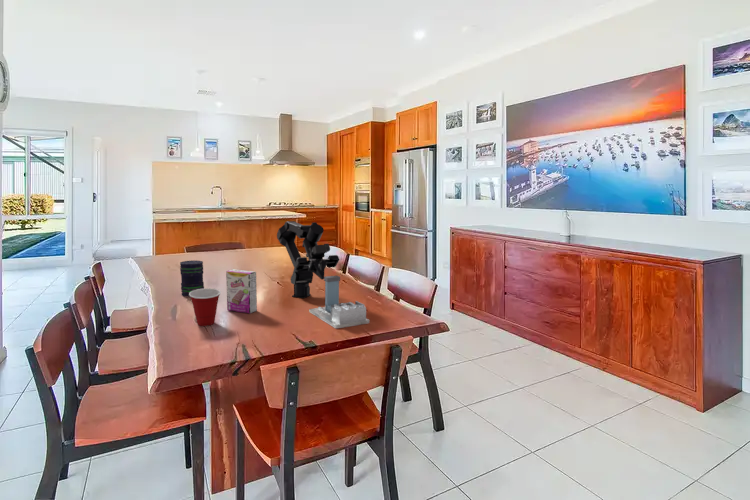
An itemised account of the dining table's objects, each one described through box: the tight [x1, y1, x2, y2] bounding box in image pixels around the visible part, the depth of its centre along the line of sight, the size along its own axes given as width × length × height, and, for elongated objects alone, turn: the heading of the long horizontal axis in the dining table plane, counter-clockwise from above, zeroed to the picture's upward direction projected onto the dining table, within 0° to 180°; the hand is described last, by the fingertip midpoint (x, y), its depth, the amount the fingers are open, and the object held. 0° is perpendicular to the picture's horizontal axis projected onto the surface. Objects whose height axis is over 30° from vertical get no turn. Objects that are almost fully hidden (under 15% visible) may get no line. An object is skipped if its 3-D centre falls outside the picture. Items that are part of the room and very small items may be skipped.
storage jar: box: [179, 260, 205, 298], centre depth 201 cm, size 10×10×15 cm
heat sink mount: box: [308, 300, 370, 329], centre depth 169 cm, size 24×14×7 cm, turn 32°
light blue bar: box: [323, 275, 341, 312], centre depth 171 cm, size 8×6×14 cm
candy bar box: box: [225, 268, 258, 314], centre depth 175 cm, size 11×5×16 cm, turn 71°
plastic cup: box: [189, 287, 222, 327], centre depth 158 cm, size 11×11×12 cm
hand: (322, 278), depth 180 cm, fingers closed
